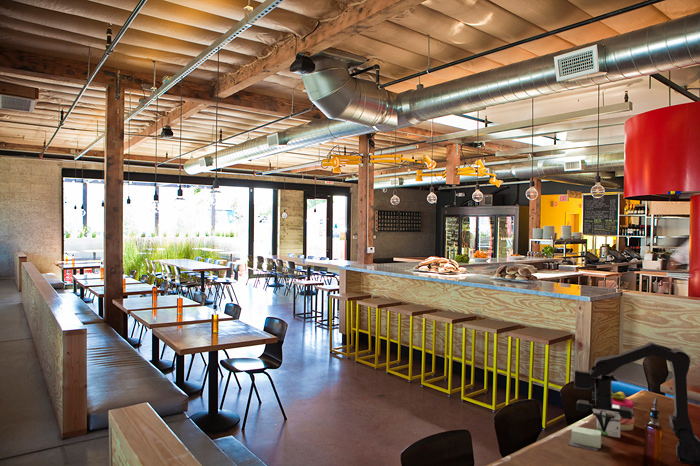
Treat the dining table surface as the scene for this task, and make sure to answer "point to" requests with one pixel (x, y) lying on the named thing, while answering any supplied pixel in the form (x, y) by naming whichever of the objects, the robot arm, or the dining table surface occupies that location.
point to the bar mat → (582, 445)
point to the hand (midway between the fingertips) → (604, 431)
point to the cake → (622, 401)
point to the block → (586, 436)
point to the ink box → (611, 424)
